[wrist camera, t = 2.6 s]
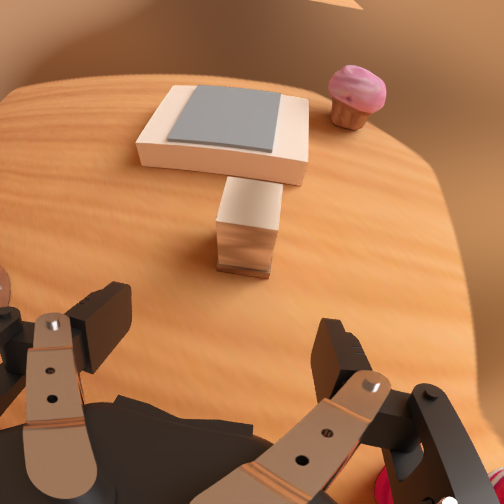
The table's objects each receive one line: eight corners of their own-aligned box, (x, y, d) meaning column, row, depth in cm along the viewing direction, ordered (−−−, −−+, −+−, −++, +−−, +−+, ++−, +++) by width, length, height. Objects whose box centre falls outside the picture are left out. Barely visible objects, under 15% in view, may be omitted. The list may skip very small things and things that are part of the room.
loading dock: (141, 166, 35) (134, 139, 31) (175, 106, 42) (173, 82, 38) (301, 186, 35) (308, 158, 31) (303, 120, 42) (309, 96, 38)
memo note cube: (216, 270, 29) (212, 222, 22) (226, 228, 31) (225, 174, 24) (268, 278, 29) (280, 233, 22) (274, 235, 31) (285, 183, 24)
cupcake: (328, 101, 45) (341, 52, 37) (375, 121, 44) (394, 73, 35) (313, 125, 41) (327, 69, 33) (367, 148, 40) (390, 93, 31)
